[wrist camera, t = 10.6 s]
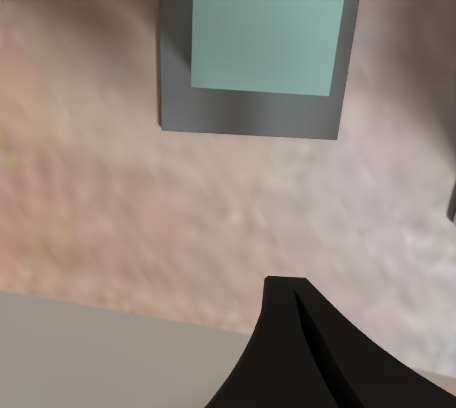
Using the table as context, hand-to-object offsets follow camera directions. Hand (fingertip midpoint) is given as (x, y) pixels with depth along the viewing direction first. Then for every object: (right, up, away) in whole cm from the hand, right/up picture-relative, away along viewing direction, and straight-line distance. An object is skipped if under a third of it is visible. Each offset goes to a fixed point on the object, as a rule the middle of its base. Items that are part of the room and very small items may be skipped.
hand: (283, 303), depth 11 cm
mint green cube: (0, +12, +6) cm, 14 cm away
